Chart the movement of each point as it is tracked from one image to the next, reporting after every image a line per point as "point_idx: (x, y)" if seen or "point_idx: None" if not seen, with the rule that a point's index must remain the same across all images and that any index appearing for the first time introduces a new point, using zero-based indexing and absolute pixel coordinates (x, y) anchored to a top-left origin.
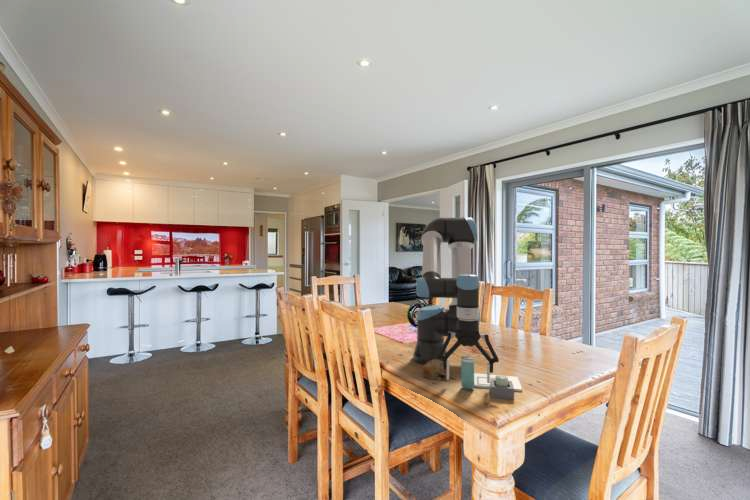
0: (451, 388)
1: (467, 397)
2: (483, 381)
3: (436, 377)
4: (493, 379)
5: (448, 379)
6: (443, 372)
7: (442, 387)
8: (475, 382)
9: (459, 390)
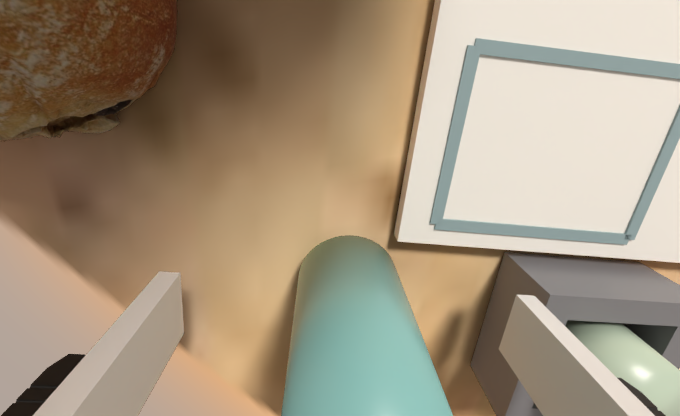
0: (228, 281)
1: None
2: (496, 158)
3: (61, 133)
4: (576, 298)
5: (181, 332)
6: (99, 101)
7: None
8: (421, 191)
9: (285, 303)
